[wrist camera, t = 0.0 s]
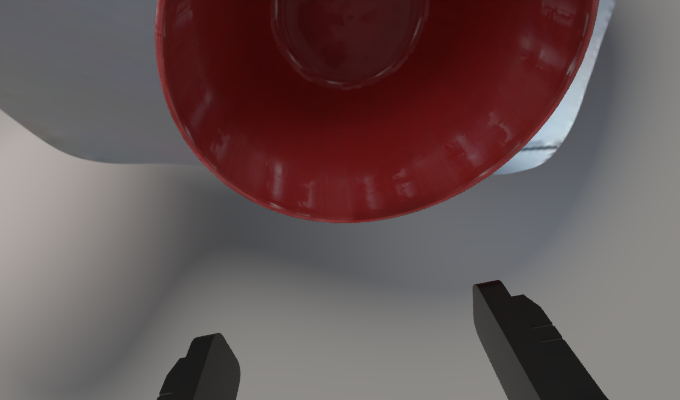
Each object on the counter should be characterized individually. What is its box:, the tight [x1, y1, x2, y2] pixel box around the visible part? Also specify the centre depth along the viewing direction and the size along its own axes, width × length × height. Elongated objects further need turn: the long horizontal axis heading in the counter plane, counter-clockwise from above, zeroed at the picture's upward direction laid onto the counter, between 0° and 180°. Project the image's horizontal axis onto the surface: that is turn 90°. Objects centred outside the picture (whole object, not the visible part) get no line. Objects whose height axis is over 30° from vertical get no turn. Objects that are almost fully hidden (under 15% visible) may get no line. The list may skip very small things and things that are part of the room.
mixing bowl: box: [155, 0, 599, 223], centre depth 28 cm, size 28×28×16 cm
